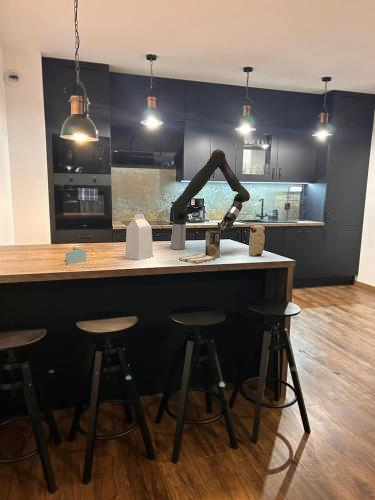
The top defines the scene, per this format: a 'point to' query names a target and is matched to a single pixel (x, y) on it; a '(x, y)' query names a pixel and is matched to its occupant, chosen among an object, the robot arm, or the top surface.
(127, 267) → the top surface
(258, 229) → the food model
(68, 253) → the l-shaped corner panel
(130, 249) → the milk
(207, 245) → the coffee box
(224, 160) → the robot arm
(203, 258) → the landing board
